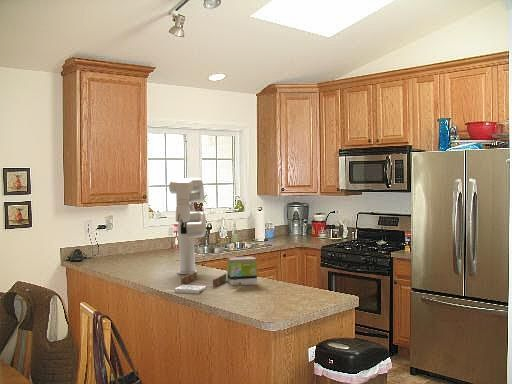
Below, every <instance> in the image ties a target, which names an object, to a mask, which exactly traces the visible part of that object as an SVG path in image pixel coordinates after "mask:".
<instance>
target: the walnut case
mask: <svg viewBox="0 0 512 384" xmlns="http://www.w3.org/2000/svg"><path fill="white" fill-rule="evenodd" d="M180 280H181V285H180V286H182V285H197V286H207V288H217V287H218V286H220V285H222V284H224V283H226V282H227V273H223V274H220V275H219V276H217V277H215V278H213V279H197V273H196V272H194V273H191V274H186V275H185V276H181V279H180Z"/></svg>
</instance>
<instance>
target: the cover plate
mask: <svg viewBox="0 0 512 384" xmlns="http://www.w3.org/2000/svg"><path fill="white" fill-rule="evenodd" d="M207 289H208V287H207V286H197V285H179V286H177V287H175V288H174V293H176V294H177V293H179V294H193V293H194V295H195V294H196V295H199V294H202V293H203V292H204V290H207Z"/></svg>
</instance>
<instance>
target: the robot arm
mask: <svg viewBox="0 0 512 384" xmlns="http://www.w3.org/2000/svg"><path fill="white" fill-rule="evenodd" d="M168 189H169V192H170V193H171V194H176V195H175V197H176V198H175V199H176V205H175V206H176V207H175V209H176V210H175V222H176V223H178V225H177V229H176V231H177V236H178V249H179V253H178V254H179V255H178V256H179V270H177V274H179V275H189V274H191V273H194V272H196V274H197V273H198V270H197V269H196V268H197V266H198V265H197V264H196V262H195V261H196V256H195V255H196V254H195V250H196V249H195V243H194V241H193V240H192V238H193V239H194V238H203V237H204V236H205V235H206V231H207V230H206V223H207V222H206V219H207V217H206V214H205V212H203V211H200V210H199V211H197V210H195V208H194V206H193V205H192V204H191V203H202V202H203V201H204V199H205V190H204V182H203V181H202V178H199V177H196V178H195V177H194V178H193V177H190V178H189V177H188V178H187V177H185V178H182V179H181V178H180V179H176V180H171V181H170V182H169V186H168Z"/></svg>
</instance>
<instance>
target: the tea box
mask: <svg viewBox="0 0 512 384" xmlns="http://www.w3.org/2000/svg"><path fill="white" fill-rule="evenodd" d="M226 261H227V262H226V263H227V265H226V266H227V267H226V268H227V270H226V274H227V281H226V282H227V283H228V284H229V285H231V286H234V285H235V286H237V285H241V286H247V285H251V286H252V285H255V286H256V285H257V284H258V259H257V258H256V257H254V256H234V257H233V256H232V257H231V256H230V257H228V256H227V259H226Z"/></svg>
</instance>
